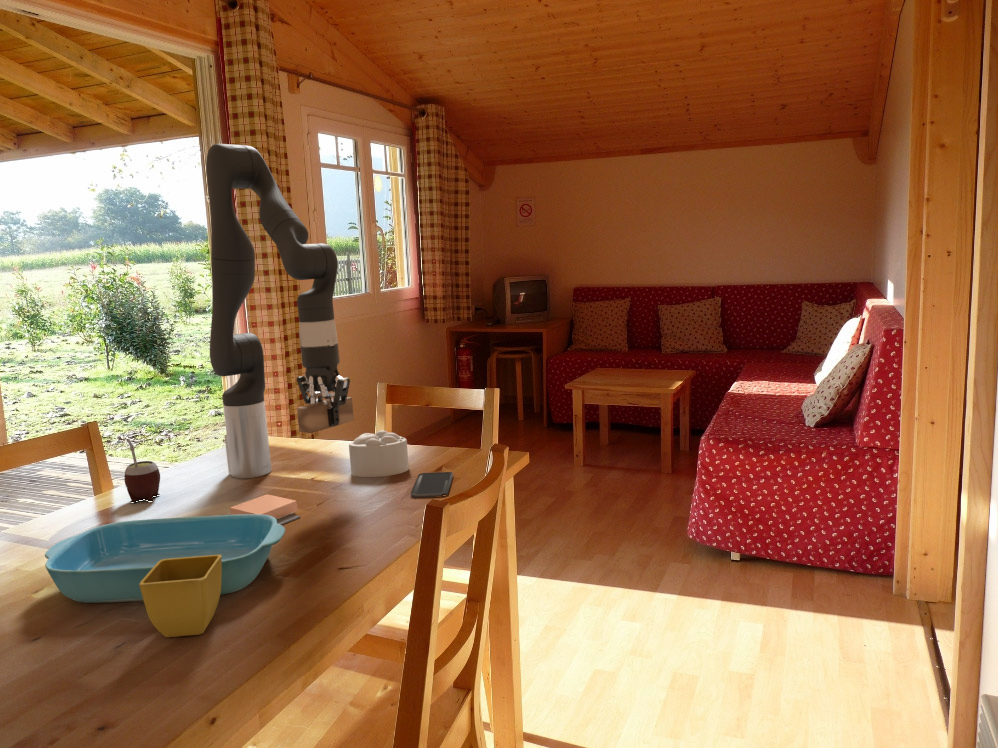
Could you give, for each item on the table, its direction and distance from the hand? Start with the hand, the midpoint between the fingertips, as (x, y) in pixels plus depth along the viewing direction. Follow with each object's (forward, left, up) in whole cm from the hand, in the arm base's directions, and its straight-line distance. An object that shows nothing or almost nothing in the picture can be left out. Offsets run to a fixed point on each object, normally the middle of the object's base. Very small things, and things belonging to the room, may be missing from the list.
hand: (327, 424), depth 161 cm
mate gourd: (-37, -20, -16) cm, 45 cm away
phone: (+14, +16, -16) cm, 27 cm away
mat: (-4, -16, -16) cm, 23 cm away
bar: (0, 0, 0) cm, 0 cm away
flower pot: (+24, -50, -16) cm, 58 cm away
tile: (-4, -10, -14) cm, 18 cm away
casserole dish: (+6, -41, -16) cm, 45 cm away
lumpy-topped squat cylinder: (-5, +20, -16) cm, 26 cm away
